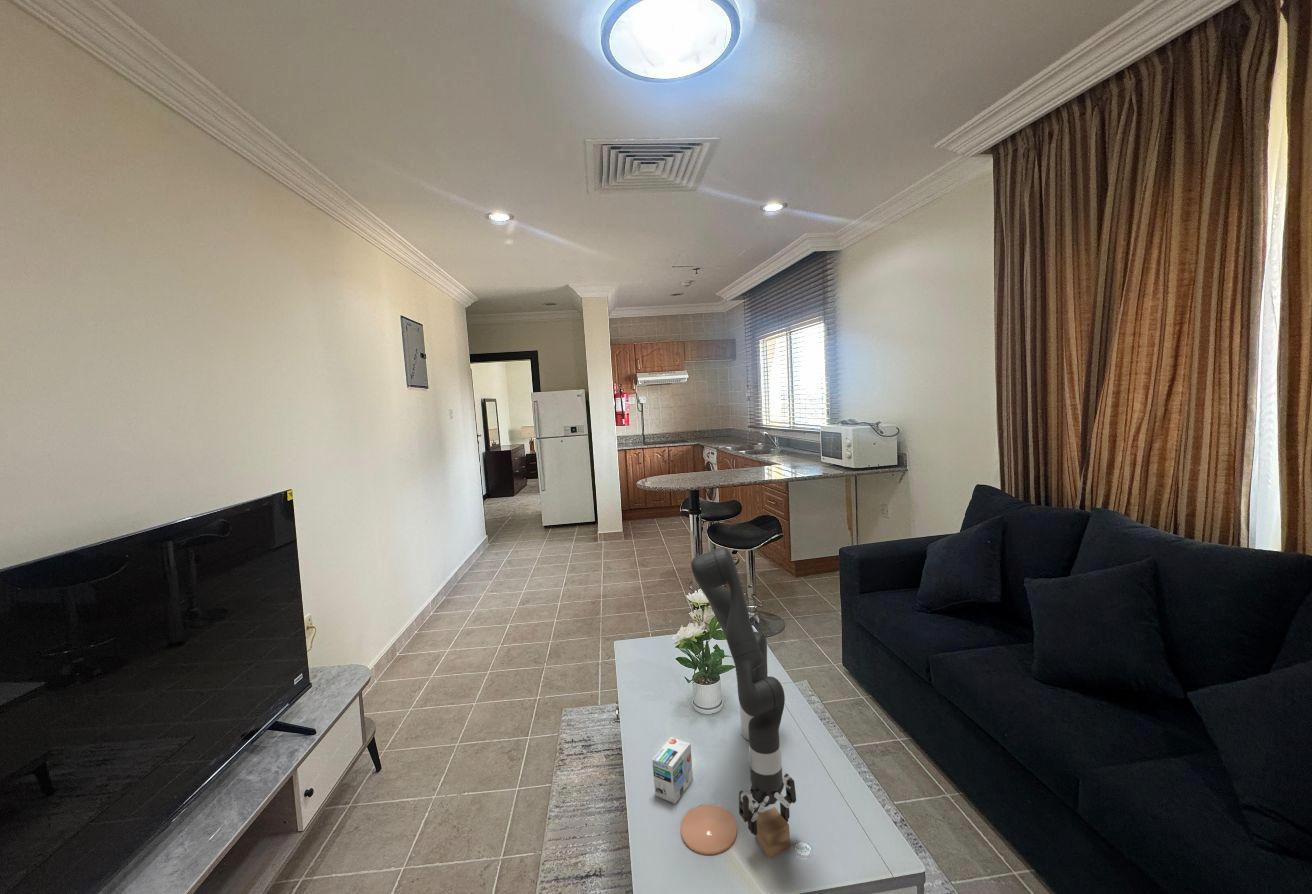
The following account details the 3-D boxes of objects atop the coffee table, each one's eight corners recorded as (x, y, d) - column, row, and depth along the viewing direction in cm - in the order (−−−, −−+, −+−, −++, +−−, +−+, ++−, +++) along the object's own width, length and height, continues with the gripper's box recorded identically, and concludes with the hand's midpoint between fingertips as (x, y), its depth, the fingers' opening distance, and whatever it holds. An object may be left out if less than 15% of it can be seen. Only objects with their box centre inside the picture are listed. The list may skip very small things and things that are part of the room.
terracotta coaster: (720, 800, 138) (720, 797, 138) (747, 841, 125) (747, 837, 125) (672, 819, 133) (671, 816, 133) (695, 863, 120) (695, 859, 120)
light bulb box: (675, 804, 138) (672, 767, 137) (654, 796, 142) (651, 759, 141) (694, 778, 147) (691, 742, 146) (673, 770, 151) (670, 736, 150)
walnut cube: (775, 829, 128) (774, 806, 127) (790, 848, 122) (789, 825, 122) (754, 838, 126) (753, 815, 125) (768, 858, 120) (767, 834, 120)
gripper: (782, 743, 128) (785, 805, 129) (730, 761, 123) (735, 825, 125) (800, 762, 121) (803, 827, 122) (747, 782, 116) (751, 849, 118)
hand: (769, 826), depth 123 cm, fingers open, 8 cm apart
